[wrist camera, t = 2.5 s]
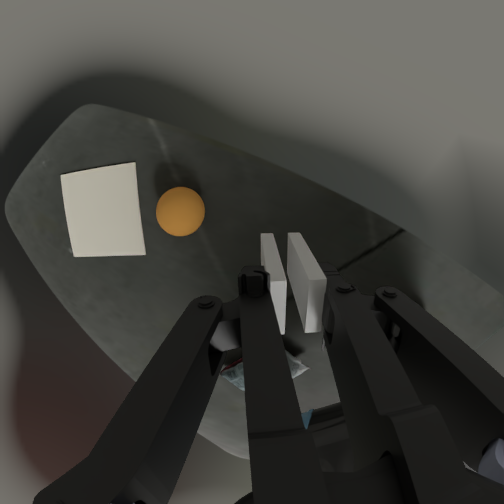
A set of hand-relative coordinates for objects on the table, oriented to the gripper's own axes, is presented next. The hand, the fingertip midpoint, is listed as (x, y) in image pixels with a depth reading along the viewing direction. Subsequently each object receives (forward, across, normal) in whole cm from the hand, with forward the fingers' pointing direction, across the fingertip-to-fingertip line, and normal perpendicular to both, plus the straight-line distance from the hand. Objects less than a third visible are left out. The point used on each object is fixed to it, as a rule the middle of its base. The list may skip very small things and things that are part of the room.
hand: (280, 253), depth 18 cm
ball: (+14, +10, 0) cm, 17 cm away
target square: (+16, +22, 0) cm, 27 cm away
